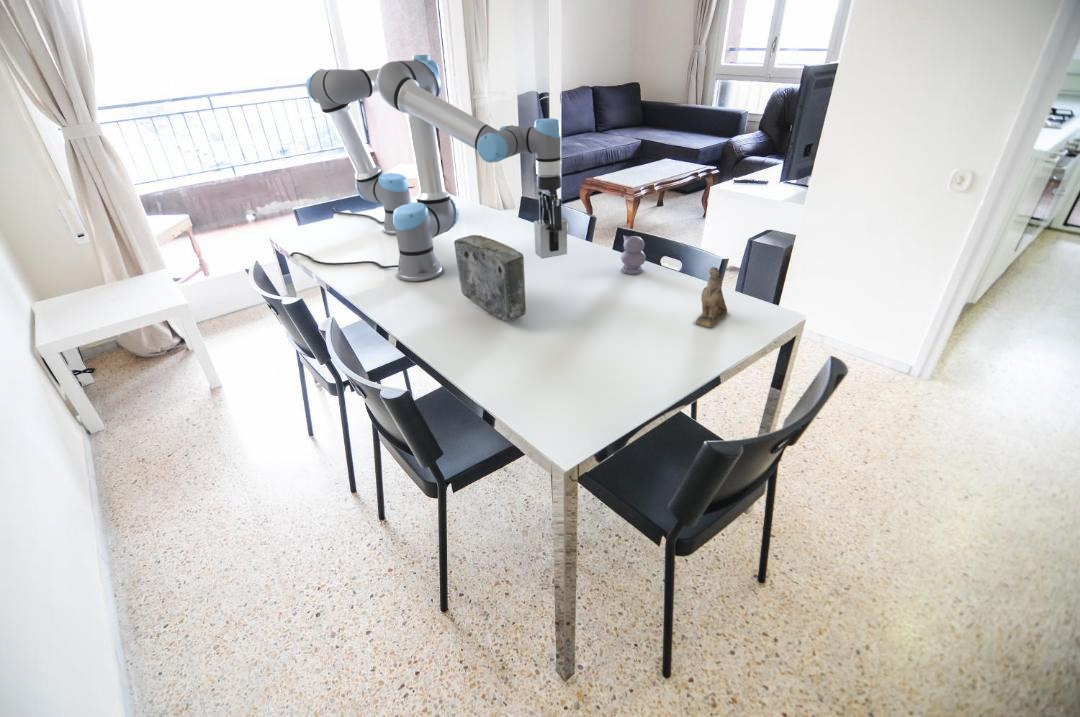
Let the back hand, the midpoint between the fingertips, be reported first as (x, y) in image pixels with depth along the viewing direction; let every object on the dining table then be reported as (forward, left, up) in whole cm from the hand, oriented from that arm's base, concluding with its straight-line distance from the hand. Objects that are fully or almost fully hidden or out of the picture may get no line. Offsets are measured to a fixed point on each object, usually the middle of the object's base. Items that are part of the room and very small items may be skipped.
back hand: (433, 144), depth 239 cm
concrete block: (+75, -106, -30) cm, 133 cm away
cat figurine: (+109, -64, -30) cm, 130 cm away
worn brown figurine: (+136, -94, -30) cm, 168 cm away
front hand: (+83, -76, -20) cm, 114 cm away
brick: (+83, -76, -22) cm, 115 cm away
